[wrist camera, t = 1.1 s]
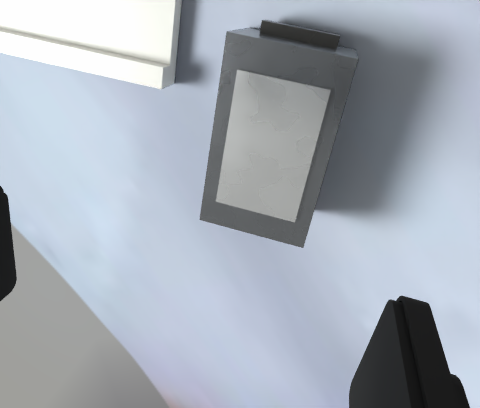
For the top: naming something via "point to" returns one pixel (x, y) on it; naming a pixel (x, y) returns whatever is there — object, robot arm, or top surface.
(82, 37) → the tray
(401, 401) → the robot arm
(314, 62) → the block
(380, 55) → the top surface
